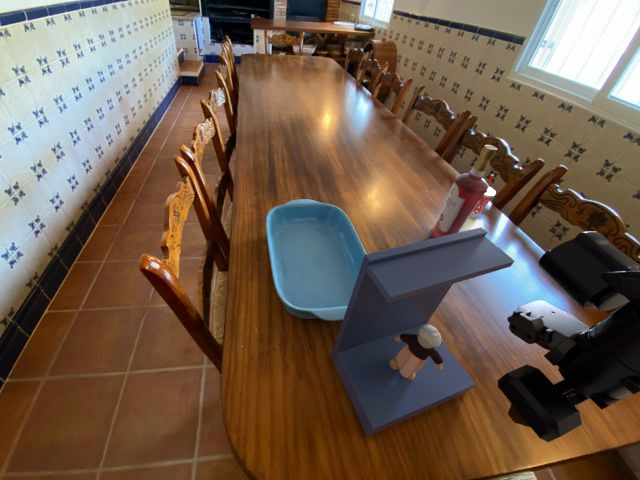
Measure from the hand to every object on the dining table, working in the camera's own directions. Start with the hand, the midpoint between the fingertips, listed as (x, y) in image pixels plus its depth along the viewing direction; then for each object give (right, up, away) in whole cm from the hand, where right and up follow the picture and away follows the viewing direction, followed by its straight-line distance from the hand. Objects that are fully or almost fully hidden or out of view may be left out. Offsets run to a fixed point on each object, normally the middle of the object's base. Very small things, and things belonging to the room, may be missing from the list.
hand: (536, 405), depth 39 cm
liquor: (+10, +19, +45) cm, 49 cm away
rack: (-13, -4, +14) cm, 20 cm away
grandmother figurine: (-13, -1, +12) cm, 17 cm away
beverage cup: (+25, +26, +55) cm, 66 cm away
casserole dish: (-27, +13, +33) cm, 45 cm away
